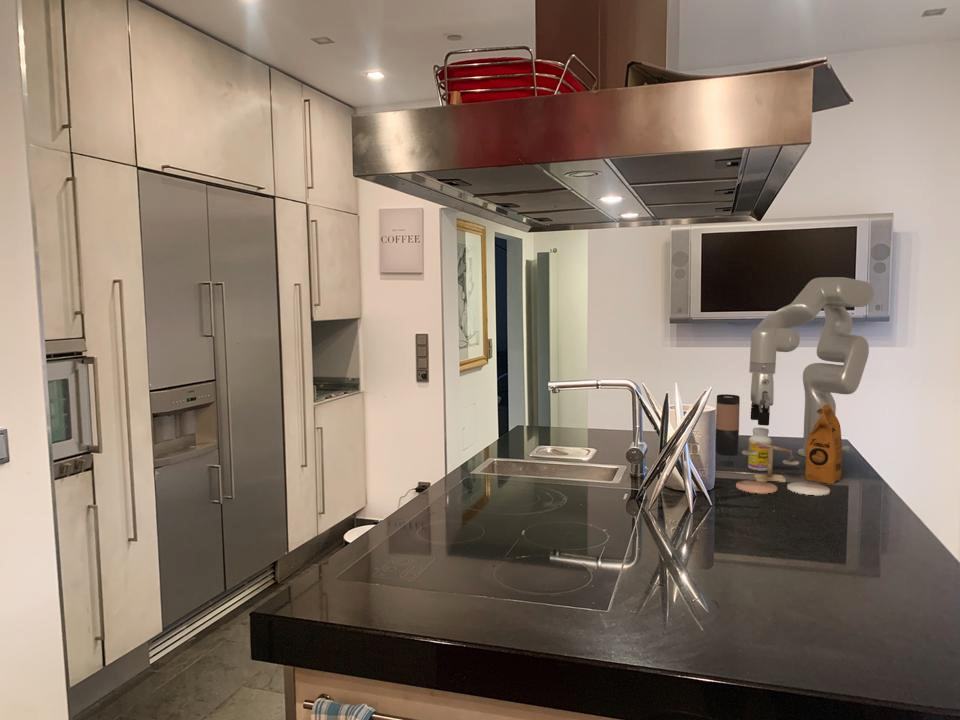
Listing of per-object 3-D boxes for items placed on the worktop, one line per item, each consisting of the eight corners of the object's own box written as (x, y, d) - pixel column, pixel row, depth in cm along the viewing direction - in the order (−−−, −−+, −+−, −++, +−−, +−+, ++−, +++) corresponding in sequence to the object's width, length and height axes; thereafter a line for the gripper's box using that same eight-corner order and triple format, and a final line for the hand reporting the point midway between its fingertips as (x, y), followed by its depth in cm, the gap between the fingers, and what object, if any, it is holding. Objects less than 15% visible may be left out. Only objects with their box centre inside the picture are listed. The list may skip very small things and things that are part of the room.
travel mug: (740, 452, 247) (742, 395, 245) (735, 456, 241) (737, 398, 239) (717, 449, 251) (719, 393, 249) (712, 453, 245) (714, 396, 243)
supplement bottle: (756, 472, 220) (758, 431, 219) (743, 467, 227) (744, 427, 226) (775, 470, 222) (776, 430, 221) (761, 465, 229) (762, 426, 227)
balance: (795, 478, 213) (797, 440, 212) (800, 482, 208) (801, 443, 207) (739, 476, 215) (741, 438, 214) (742, 480, 211) (744, 442, 210)
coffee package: (798, 480, 211) (801, 407, 209) (810, 471, 221) (813, 402, 218) (835, 486, 205) (838, 411, 203) (845, 477, 214) (848, 405, 212)
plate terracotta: (771, 483, 207) (771, 481, 207) (781, 494, 197) (782, 491, 196) (732, 482, 209) (732, 479, 209) (740, 493, 198) (740, 490, 198)
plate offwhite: (822, 485, 205) (822, 482, 205) (835, 496, 195) (835, 493, 194) (782, 484, 207) (782, 481, 207) (793, 495, 196) (793, 492, 196)
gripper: (782, 371, 212) (779, 428, 214) (767, 366, 229) (765, 418, 231) (756, 370, 213) (753, 426, 215) (743, 365, 230) (741, 417, 232)
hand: (759, 422), depth 223 cm, fingers open, 9 cm apart
